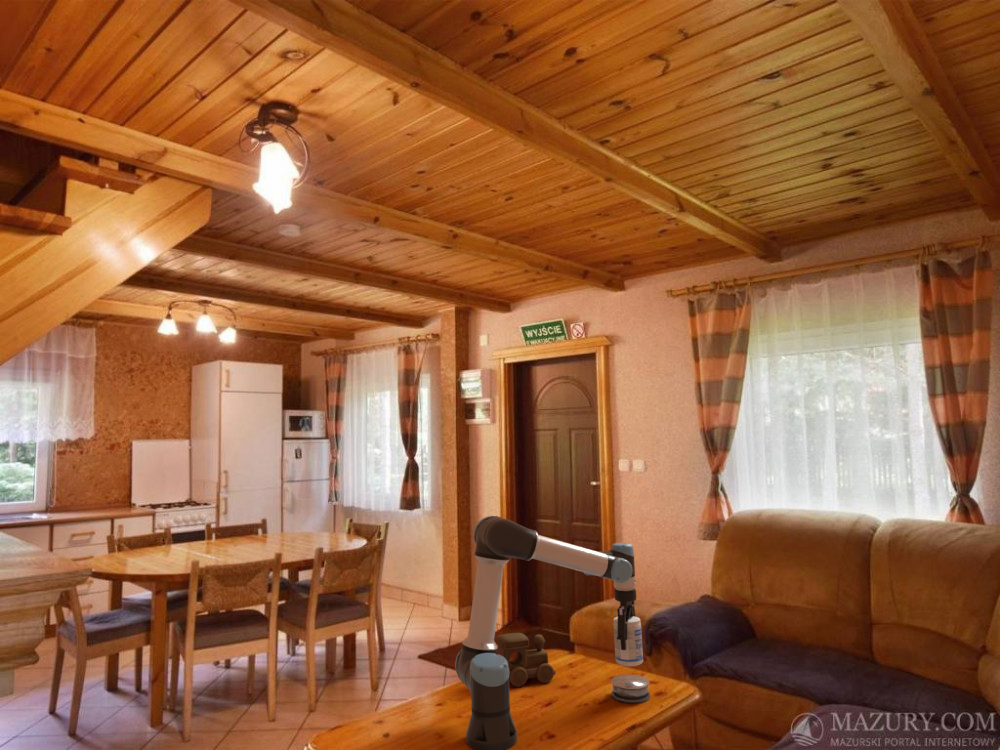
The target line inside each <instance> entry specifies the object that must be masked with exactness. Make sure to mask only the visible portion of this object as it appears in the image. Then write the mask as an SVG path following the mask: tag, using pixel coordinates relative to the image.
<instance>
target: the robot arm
mask: <svg viewBox="0 0 1000 750" xmlns="http://www.w3.org/2000/svg"><path fill="white" fill-rule="evenodd" d="M473 539H474V543H475V550H474V557H475V559H476V560H477V568H476V569H477V570H476V576H475V583H474V590H473V591H474V592H473V597H472V604H471V611H470V620H469V627H468V633H467V637H466V638H464V639H463V640H462V642H461V649H460V651H458V653H457V655H456V658H455V661H454V662H455V663H454V665H455V671H456V675H457V677H458V678H459V680H460V681H461V683H462V684H464V685H465V687H466V688H467V689H468V690H469V692H470V702H471V703H470V705H471V706H470V707H471V715H470V718H469V721H468V725H467V726H468V727H467V730H466V735H465V736H466V741H465V742H466V745H467V746H469V748H471V749H473V750H505V749H509V748H512V746H514V745H515V744H517V741H518V734H517V733H518V732H517V728H516V726H515V723H514V720H513V717H512V714H511V697H510V696H511V695H510V694H511V693H510V691H511V690H510V681H509V673H510V672H509V668H508V662H507V660H506V659H505V658H504V657H503V656H501V655H500V653H498V649H499V645H498V644H497V643H496V642H495V635H496V628H497V627H496V626H497V620H498V614H499V613H498V612H499V604H500V598H501V597H500V596H501V588H502V582H503V575H504V569H505V568H504V567H505V565H506V564H507V563H509V562H510V559H511V558H514V559H519V560H523V561H531V560H532V559H533V560H537V561H540V562H544V563H548V564H553V565H555V566H559V567H563V568H567V569H571V570H574V571H578V572H581V573H583V574H584V575H586V576H597V577H599V578H603V579H607V580H611V581H613V587H614V592H613V593H614V599H615V601H616V602H619V603H620V604H619V607H618V608H617V610H616V611H617V617H618V637H617V639H618V640H620V655H621V659H624V660H629V649H628V639H627V623H626V622H628V620H629V619H630V617H633V616H634V617H637V616H636V608H635V602H636V601H637V590H636V587H637V586H636V584H637V581H638V579H637V578H636V571H635V569H636V566H635V552H634V546H633V544H631V543H629V542H615V543H613V544H612V545H611V549H610V550H602V551H596V550H594V549H590V548H587V547H583V546H579V545H576V544H572V543H569V542H565V541H562V540H558V539H555V538H550V537H547V536H544V535H540V534H538V531H537V530H534V529H530V528H528V527H525V526H523V525H521V524H520V523H519V524H518V523H517V522H515V521H513V520H510V519H508V518H503V517H501V516H497V515H491V516H490V515H489V516H485V517H482V519H480V520H479V521H478V522H477V524H476V525H475V527H474V529H473ZM621 635H623V636H621Z"/></svg>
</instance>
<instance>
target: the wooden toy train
mask: <svg viewBox="0 0 1000 750" xmlns="http://www.w3.org/2000/svg"><path fill="white" fill-rule="evenodd" d="M496 642H497V643H496V644H497V645H498V646H499V655H501V656H503V657H504V658H505V659H506V660H507V662H508V668H509V672H510V673H509V683H510V684H511V685H512V687H516V688H520V687H522V686H524V685H525V684H526V683H527V680H528V679H533V678H536V680H537V681H538V682H539V683H542V684H547V683H550V682H551V681H552V680H553V678H554V676H555V675H556V674H557V673H556V670H555V669H554V667H553V665H551V663H549V655H548V652H547V650H546V649H544V645H545V642H546V640H545V638H544V636H543V635H542V634H535V636H534V637H533V639H532V642H533V644H534V646H535V649H534V648H533V649H528V648H529V647H530V639H529V638H528V636H527V635H526V634H525V633H522V632H512V633H504V634H503V633H502V634H497V636H496ZM514 653H515V654H516V655H515V657H514V658H513V659H511V657H512V655H513V654H514Z"/></svg>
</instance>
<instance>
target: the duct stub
mask: <svg viewBox="0 0 1000 750" xmlns="http://www.w3.org/2000/svg"><path fill="white" fill-rule="evenodd" d="M610 684H611V685H612V691H611V698H612V699H613V700H614V701H616V702H620V703H623V704H631V705H632V704H633V705H634V704H635V705H636V704H637V705H638V704H642V703H645V702H648V701H650V699H651V693H650V691H649V685H650V681H649V679H648V678H647V677H644V676H642V675H637V674H619V675H617V676H613V677H612V678H611V680H610Z"/></svg>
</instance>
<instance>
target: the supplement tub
mask: <svg viewBox="0 0 1000 750" xmlns="http://www.w3.org/2000/svg"><path fill="white" fill-rule="evenodd" d="M612 623H613V638H614V639H613V640H614V642H613V643H614V656H615V663H617V664H618V665H620V666H625V667H635V666H639V665H641V664H643V663H644V655H643V654H644V653H643V651H644V650H643V639H642V622H641V618H640V617H638V616H636V617H634V616H633V617H630V619H629V620H628V622H626V623H627V639H628V649H629V660H624V659H621V655H620V640H618V639H617V637H618V616H616V617H614V618H613V622H612ZM621 636H623V635H621Z"/></svg>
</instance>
